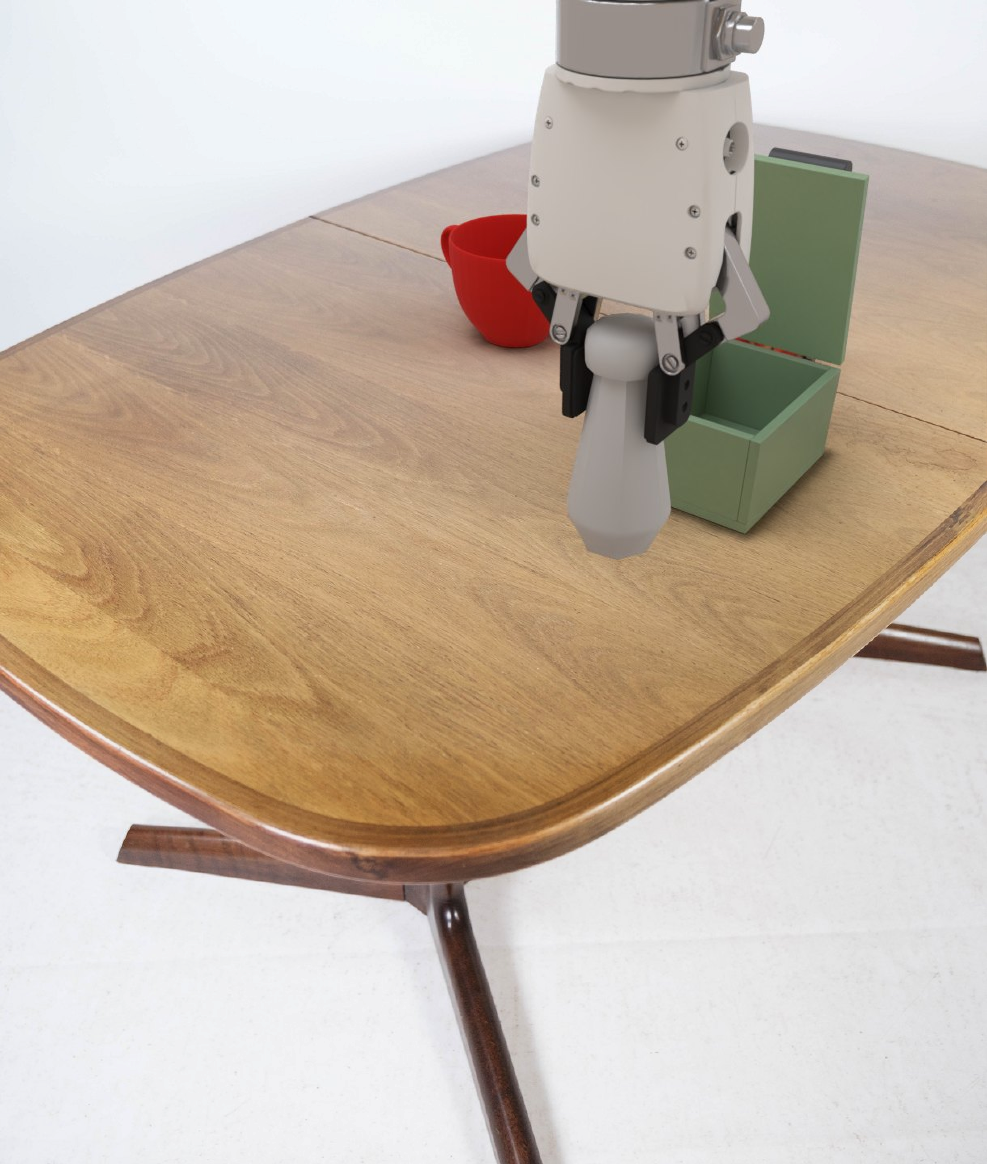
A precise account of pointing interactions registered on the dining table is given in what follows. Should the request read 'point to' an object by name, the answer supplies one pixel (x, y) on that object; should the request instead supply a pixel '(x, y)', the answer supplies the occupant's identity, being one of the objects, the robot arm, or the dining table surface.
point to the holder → (748, 432)
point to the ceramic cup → (493, 280)
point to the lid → (805, 251)
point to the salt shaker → (619, 443)
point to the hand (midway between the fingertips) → (622, 417)
